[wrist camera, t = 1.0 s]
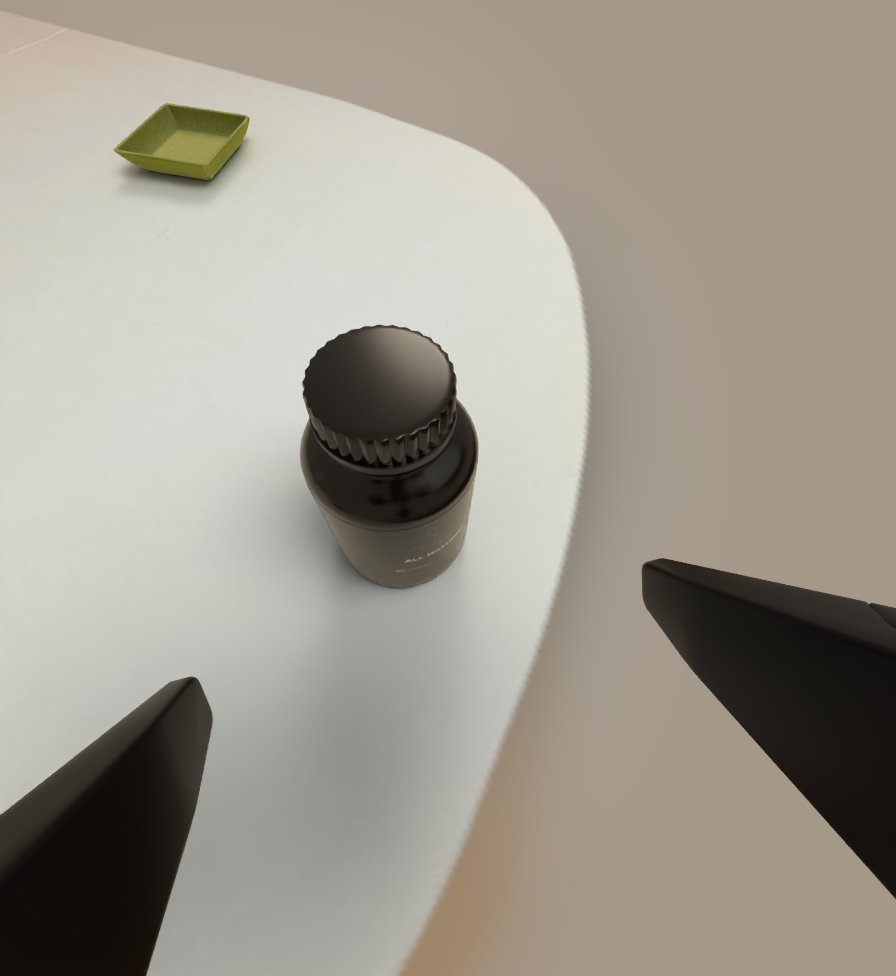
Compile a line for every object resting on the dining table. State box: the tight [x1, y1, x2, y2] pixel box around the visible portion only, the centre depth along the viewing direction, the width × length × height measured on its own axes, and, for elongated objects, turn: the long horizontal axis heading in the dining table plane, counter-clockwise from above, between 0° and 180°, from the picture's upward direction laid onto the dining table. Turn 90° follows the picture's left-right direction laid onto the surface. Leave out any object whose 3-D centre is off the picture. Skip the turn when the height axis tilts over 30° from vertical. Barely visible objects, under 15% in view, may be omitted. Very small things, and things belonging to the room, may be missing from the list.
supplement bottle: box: [300, 325, 478, 587], centre depth 19 cm, size 7×7×12 cm
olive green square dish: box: [114, 103, 250, 180], centre depth 40 cm, size 9×9×2 cm
